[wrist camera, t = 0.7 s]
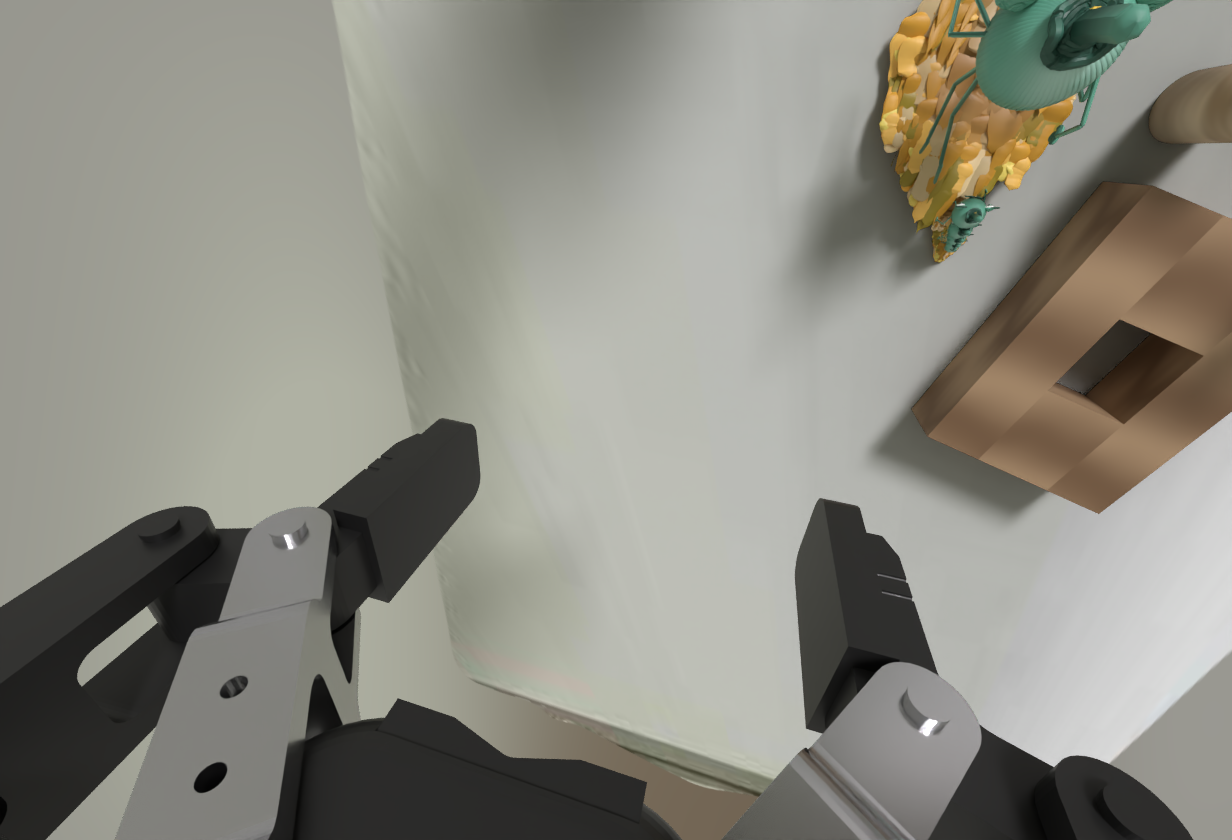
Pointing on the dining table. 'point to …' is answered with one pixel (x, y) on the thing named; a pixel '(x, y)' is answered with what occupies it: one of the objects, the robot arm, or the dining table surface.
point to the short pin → (1195, 108)
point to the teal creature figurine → (991, 95)
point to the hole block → (1072, 323)
